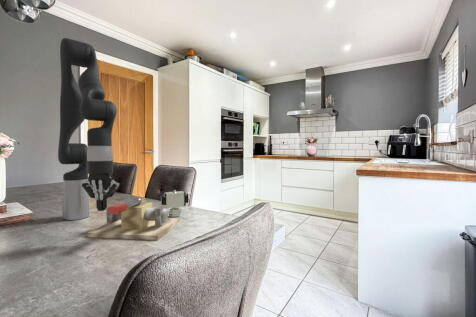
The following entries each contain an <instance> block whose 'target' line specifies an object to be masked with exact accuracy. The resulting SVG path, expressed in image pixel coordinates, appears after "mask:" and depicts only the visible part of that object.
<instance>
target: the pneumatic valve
mask: <svg viewBox="0 0 476 317" xmlns="http://www.w3.org/2000/svg"><path fill="white" fill-rule="evenodd" d="M163 193H164V194H163V195H162V194H161V195H160V203H161V204H160V206H161V205H167V209H169V210H168V217H170V218H180V216H181V215H182V209H180V208H182V207H186V205H187V204H188V203H189V199H190V198H189V193H186V192H185V191H184V190H180V191H179V190H176V189H173V191H164V192H163Z"/></svg>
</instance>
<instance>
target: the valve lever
mask: <svg viewBox="0 0 476 317" xmlns="http://www.w3.org/2000/svg"><path fill="white" fill-rule="evenodd" d="M141 202H142V197H134V198H131V199H129V200H126V201H124V202H118V203H115V205H114V204H111V205H110V206H107V207H108V214H119V213H121V212H123V211H126V210H127V208H129V207H132V206H134V205H136V204H139V203H141Z"/></svg>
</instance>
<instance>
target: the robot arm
mask: <svg viewBox="0 0 476 317" xmlns="http://www.w3.org/2000/svg"><path fill="white" fill-rule="evenodd" d="M96 53H97V52H96V50H95V48H94V47H93V45H92V44H90V43H87V42H83V41H79V40H77V39H76V40H75V39H71V38H67V37H63V38H62V39H61V41H60V46H59V55H60V56H59V58H60V59H59V60H60V77H61V78H60V98H59V124H60V126H59V127H60V128H59V139H58V149H57V159H58V162H59V163H60V165H78V167H76V168H75V169H72V170H70V171H67V172H65V173H64V174H62V175H63V176H62V177H63V178H62V180H63V182H62V184H63V197H62V198H61V206H62V207H61V208H62V209H61V210H62V219H63V220H67V221H77V220H82V219H85V218H88V217H90V198H91V199H95V202H96V210H97V211H98V212H103V211H106V208H107V207H108V202H107V201H108V199H109V198H111V197H113V196H114V194H115V193H116V192H117V190H119V187H120V186H121V183H120V182H117V181H115V178H114V176H113V174H114V152H113V148H112V146H113V145H112V134H113V133H112V132H113V127H114V123H115V120H116V117H117V114H118V112H117V106H116V105H115V104H114V103H113V101H110V100H105V98H106V94H105V91H104V87H103V85H102V83H101V79H100V78H101V77H100V72H99V65H98V59H97V55H96ZM72 66H74V67H75V66H76V67H81V68H83V69H84V68H85V70H84V71H83V72H82V73H81V74H80V75H79V77H78V81H77V80H76V78H75V77H74V74H73V70H72ZM77 82H78V83H77ZM85 120H87V121H93V122H94V121H95V122H96V121H97V122H103V123H102V125H101V126H99V127H93V128H92V127H91V128H88V130H87V131H86V133H87V135H86V137H87V139H86V141H87V143H80V142H79V143H76V142H75V143H73V142H72V143H70V141H71V138H72V135H73V134H74V132H76V130H77V129H78V128H79V127H80V126H81V125H82V124H83V123H84V121H85Z"/></svg>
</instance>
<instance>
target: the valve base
mask: <svg viewBox="0 0 476 317" xmlns="http://www.w3.org/2000/svg"><path fill="white" fill-rule="evenodd" d="M115 204H116V203H115ZM115 204H113V205H115ZM108 207H109V206H107V208H106V210H105V211H106V224H103V225H101V226H99V227H97V228H94V229H93V230H90V231H88V232H87V238H103V239H104V238H105V239H121V240H122V239H126V240H127V239H128V240H141V241H142V240H143V241H144V240H147V241H159V240H160V239H161V238H162V237H163V236H165V235H166V234H167V233H168V232H170V231H171V230H172V229H174V227H176V226H177V225H178V224H179V223H181V218H180V217H169V210H168V208H167V205H161V204H160V205H159V206H157V207H155V208H154V207H153V202H145V201H144V202H142V201H141V203H139V204H136V205H134V206H132V207H129V208H127V210H126V211H123V212H121V213H119V214H108Z"/></svg>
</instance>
